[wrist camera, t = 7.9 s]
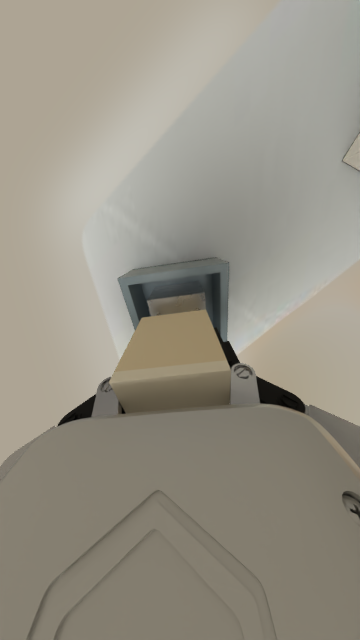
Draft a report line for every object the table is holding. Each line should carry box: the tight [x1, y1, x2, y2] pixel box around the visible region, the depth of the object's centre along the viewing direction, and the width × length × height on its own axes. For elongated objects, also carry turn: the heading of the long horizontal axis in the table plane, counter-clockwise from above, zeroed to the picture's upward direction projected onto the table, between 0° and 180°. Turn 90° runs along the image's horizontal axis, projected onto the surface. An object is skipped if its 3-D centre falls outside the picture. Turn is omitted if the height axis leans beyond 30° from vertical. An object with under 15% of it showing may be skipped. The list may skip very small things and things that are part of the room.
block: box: [147, 281, 206, 316], centre depth 18 cm, size 6×6×5 cm
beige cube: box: [109, 310, 231, 414], centre depth 10 cm, size 6×6×6 cm
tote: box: [117, 257, 229, 342], centre depth 19 cm, size 11×11×6 cm
